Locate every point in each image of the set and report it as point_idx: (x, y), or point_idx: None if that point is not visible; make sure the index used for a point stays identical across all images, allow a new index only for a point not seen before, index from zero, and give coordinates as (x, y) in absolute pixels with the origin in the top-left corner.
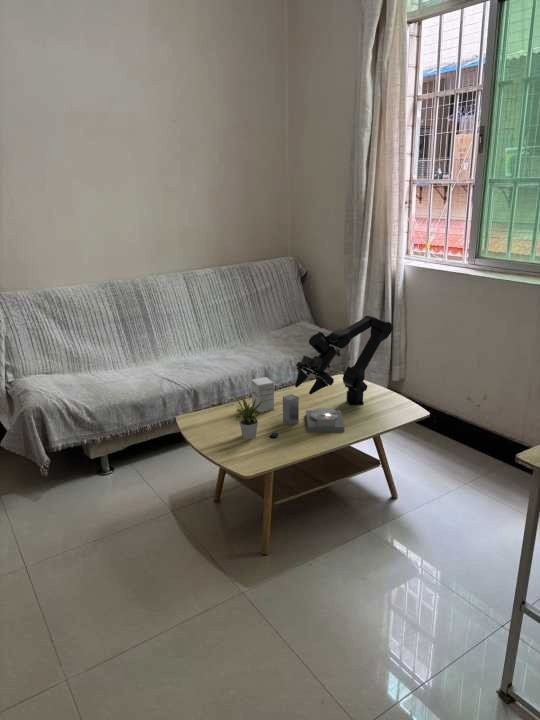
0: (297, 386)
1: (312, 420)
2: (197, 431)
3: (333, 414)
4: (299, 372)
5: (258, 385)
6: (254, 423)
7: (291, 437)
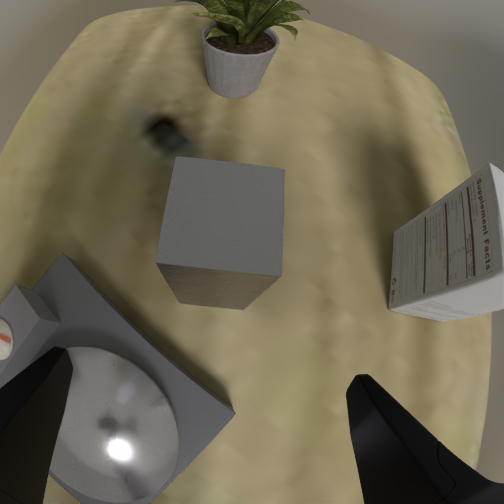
0: (350, 405)
1: (99, 336)
2: (350, 45)
3: (55, 451)
4: (486, 500)
5: (488, 163)
6: (216, 43)
7: (98, 171)
